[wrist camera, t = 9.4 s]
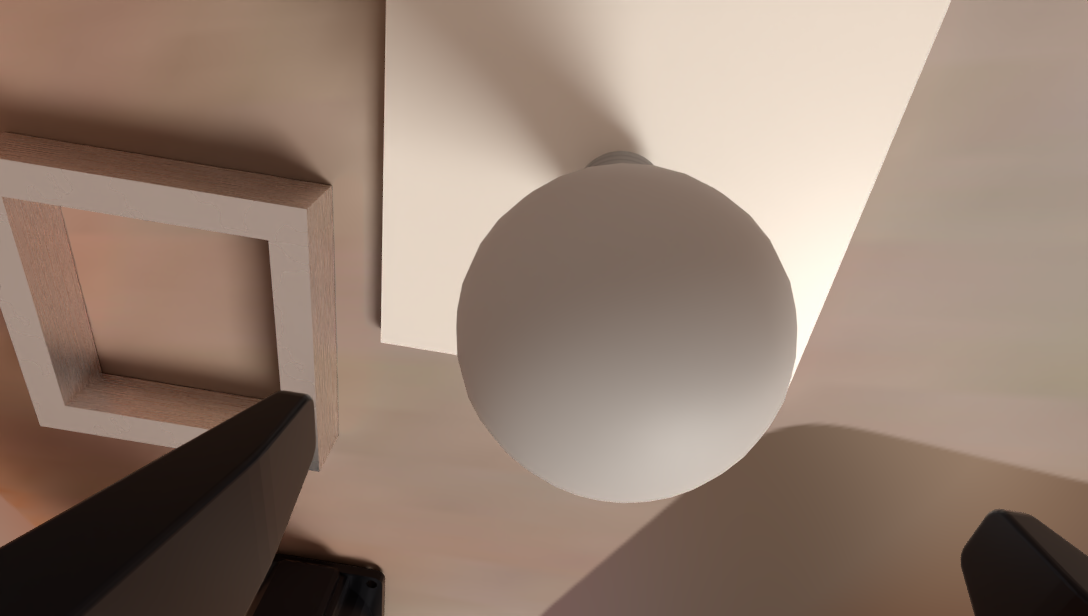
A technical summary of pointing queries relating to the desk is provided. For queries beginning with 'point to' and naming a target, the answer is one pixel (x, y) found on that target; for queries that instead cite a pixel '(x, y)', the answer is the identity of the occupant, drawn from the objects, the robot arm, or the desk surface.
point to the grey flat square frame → (173, 198)
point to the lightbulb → (626, 331)
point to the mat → (635, 122)
